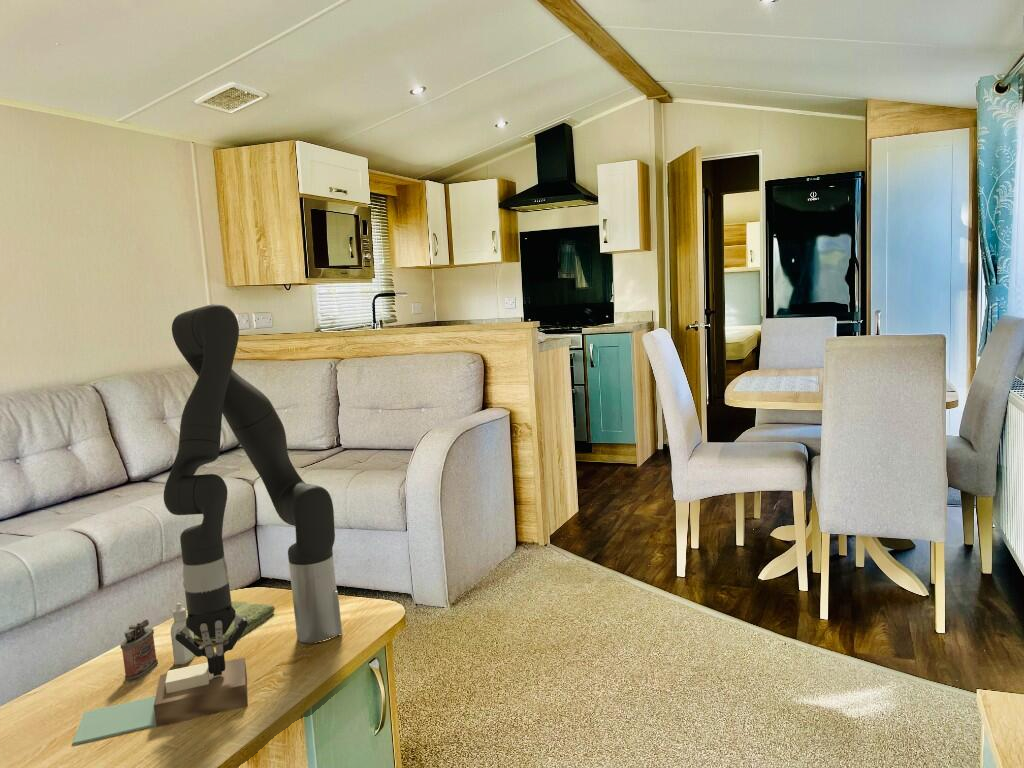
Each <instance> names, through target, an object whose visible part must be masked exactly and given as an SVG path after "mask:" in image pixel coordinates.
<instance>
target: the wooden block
mask: <svg viewBox="0 0 1024 768" xmlns="http://www.w3.org/2000/svg"><path fill="white" fill-rule="evenodd" d="M166 677H167V673H165V674H160V676H159V680H158V684H157V689H156V693H155V696H156V697H155V701H154V711H155V719H156V726H155V727H156V728H158V727H162V726H163V727H164V726H167V725H171V724H176V723H179V722H184V721H188V720H192V719H197V718H201V717H206V716H211V715H213V714H214V715H215V714H219V713H224V712H228V711H232V710H235V709H241V708H244V707H248V706H249V705H248V704H249V703H248V702H249V701H248V699H249V697H248V696H249V695H248V672H247V664H246V657H239V658H236V659H235V658H234V659H230V660H225V671H222V675H218V676H213V673H212V674H210V676H209V684H207V685H203V686H198V687H194V688H189V689H185V690H180V691H176V692H171V693H167V692H166V684H165V682H166Z"/></svg>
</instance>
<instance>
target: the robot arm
mask: <svg viewBox="0 0 1024 768" xmlns="http://www.w3.org/2000/svg"><path fill="white" fill-rule="evenodd" d="M239 326H240V325H239V321H238V318H237V316H236V315H235V313H234V311H232V309H231V308H230V307H228V306H226V305H225V304H222V303H213V304H212V303H211V304H208V305H204V306H200V307H197V308H194V309H191V310H186V311H183V312H181V313H179V314H177V315H176V316H175V317H174V319H173V320H172V324H171V334H172V338H173V341H174V343H175V346H176V347H177V349H178V350H179V352H180V354H181V355H182V357H183V358H184V359H185V361H186V362H187V363H188V365H189V367H191V368H192V370H193V372H195V374H196V375H197V380H196V382H195V384H194V386H193V389H192V391H191V392H190V394H189V397H188V398H187V401H186V403H185V405H184V407H183V411H182V413H181V417H180V427H179V437H178V449H177V453H176V455H175V458H174V462H173V464H172V468H171V470H170V472H169V474H168V477H167V479H166V482H165V486H164V489H163V502H164V503H163V504H164V505H165V508H166V510H167V511H168V512H169V513H170V514H172V515H174V516H188V515H189V516H190V515H202V517H203V519H202V522H201V524H196V525H192V526H190V527H187V528H186V529H184V530H183V531H182V532H181V534H180V537H179V541H180V542H179V543H180V551H181V558H182V578H183V582H182V583H183V588H184V595H185V603H186V613H187V615H186V616H187V619H186V624H185V625H184V626H183V627H182V628H181V629H178V630H177V631H176V637H175V639H176V640H177V641H178V642H180V643H181V644H182V645H183V646H184V647H186V648H187V649H188V650H189V651H191V652H192V653H193V654H194V655H195V657H197V658H198V657H199V658H200V657H205V658H206V660H207V662H208V668H209V673H210V674H212V673H213V676H218V675H222V671H225V661H226V659H225V658H226V657H225V653H226V652H228V651H231V650H233V649H234V647H235V645H236V644H237V642H238V641H239V639H240V638H241V637H240V636H241V635H242V633H243V631H244V630H245V628H246V627H247V625H248V619H247V617H246V616H243V617H241V616H239V615H237V614H236V612H235V610H234V608H233V607H232V603H231V602H232V596H231V589H230V581H229V578H230V577H229V572H228V571H229V570H228V565H227V561H226V557H225V549H224V541H223V527H224V526H223V524H224V518H225V511H226V506H227V501H228V486H227V484H226V482H225V480H224V479H223V478H222V477H221V476H220V475H218V474H215V473H208V474H207V473H205V474H196V472H197V470H198V469H199V468H200V467H201V466H204V465H207V464H210V463H213V462H214V461H216V460H217V459H219V456H220V450H221V435H222V421H223V417H224V419H225V421H226V422H227V424H228V426H229V428H230V429H231V431H232V433H233V434H234V436H235V438H236V440H237V441H238V443H239V446H241V447H242V449H243V451H244V453H245V454H246V456H247V457H248V459H249V461H250V463H251V464H252V466H253V467H254V469H255V470H256V472H257V474H258V475H259V477H260V480H261V481H262V483H263V485H264V487H265V488H266V491H267V493H268V496H269V498H270V500H271V503H272V505H273V507H274V510H275V511H276V513H277V515H278V517H279V518H280V519H281V520H282V521H283V522H284V523H286V524H287V525H290V526H294V528H295V542H294V543H292V544H291V545H290V546H289V547H288V550H287V557H288V567H289V568H288V569H289V575H290V577H289V578H290V586H291V594H292V603H293V612H294V623H295V632H296V638H297V639H296V640H297V641H299V642H300V643H302V642H305V643H304V644H313V643H312V642H319V641H323V640H326V639H329V638H332V637H334V636H336V635H339V634H342V635H343V626H342V620H341V619H342V618H341V610H340V609H341V608H340V600H339V593H338V592H339V591H338V589H337V582H336V580H337V579H336V573H335V572H336V571H335V563H334V554H333V553H334V551H333V547H334V544H335V539H336V533H335V531H336V530H335V528H336V527H335V510H334V504H333V499H332V497H331V494H330V492H329V491H328V490H327V489H326V488H324V487H323V486H320V485H316V484H311V483H306V482H305V481H304V480H303V479H302V478H301V476H300V474H299V473H298V471H297V469H296V468H295V467H294V465H293V463H292V461H291V458H290V456H289V452H288V442H287V435H286V431H285V426H284V424H283V421H282V420H281V418H280V416H279V415H278V413H277V411H276V409H275V407H274V406H273V404H272V402H271V401H270V399H269V398H268V397H267V396H266V395H265V394H264V393H263V392H262V391H261V390H260V389H258V388H257V387H255V386H254V385H253V384H251V383H250V382H249V381H247V380H246V379H244V378H243V377H242V376H241V375H239V374H238V373H237V372H236V371H235V370H234V369H233V363H234V360H235V356H236V353H237V348H238V342H239V338H240V327H239ZM233 620H234V628H235V629H234V630H233V632H232V633H231V635H230V637H229V638H228V640H227V641H224V642H223V635H224V634H225V633H226V632H227V630H228V629H229V627H230V625H231V623H232V622H233ZM189 629H190V630H191V631H192V632H193V633H194V634H195V635H197V636H198V637H199V638H201V639H203V640H202V642H203V643H202V644H203V645H202V644H200V643H199V642H198V640H194V639H193V638H192V637H191V636H190V635H191V633H190V631H189ZM339 636H340V635H339ZM212 637H216V641H215V648H214V644H213V641H212ZM336 637H337V636H336ZM334 638H335V637H334Z"/></svg>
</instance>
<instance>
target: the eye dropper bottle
mask: <svg viewBox="0 0 1024 768" xmlns="http://www.w3.org/2000/svg"><path fill="white" fill-rule="evenodd" d="M172 614H173V616H172V617H173V623H172V624H171V627H170V637H171V645H172V646H171V648H172V652H173V653H172V654H173V662H174V665H177V666H178V665H185V664H188V663H189V662H191V661H192V660H193V659H194V658H195V657H196V655H194V654H193V653H192V652H191V651H189V650H188V649H187V648H186V647H184V646H183V645H182V644H181V643H180V642H178V641H177V640H176V639H175V637H176V631H177V630H178V629H181V628H182V627H183V626H184V625H185V624H186V619H187V616H188V615H187V608H185V607H182V604H181V603H180V602H177V603H176V607H175V609H173V611H172ZM189 631H190V633H191V635H190V636H191V637H192V638H193V639H194V635H193V632H192V631H191V630H190V629H189Z"/></svg>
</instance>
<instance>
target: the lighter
mask: <svg viewBox="0 0 1024 768" xmlns="http://www.w3.org/2000/svg"><path fill="white" fill-rule="evenodd" d="M149 621H150V620H149V619H148V618H144V619H142V620H141V621H139V622H137V623H136V624H131V625H129V627H128V629H127V630H125V631H124V637H125V640H123V641H122V642H121V643H120V644H119V645H120V649H121V653H122V657H123V658H122V659H123V666H124V673H125V675H124V681H125V682H126V683H132V682H133V683H134V682H136V681H138V680H139V679H142V678H143V677H145V676H146V675H148V674H149V673H150V672H152V671H153V670H154V669H156V667H157V666H158V665H159V660H158V659H157V653H156V652H157V651H156V646H155V639H154V634H155V630H154V628H153V627H151V628H150V627H148V626H149V625H150V622H149ZM146 627H148V628H146ZM157 664H158V665H157ZM152 669H153V670H152ZM151 670H152V671H151Z"/></svg>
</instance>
